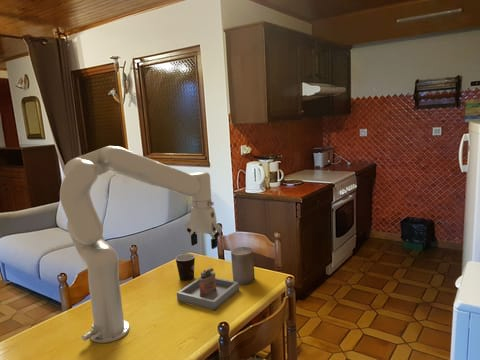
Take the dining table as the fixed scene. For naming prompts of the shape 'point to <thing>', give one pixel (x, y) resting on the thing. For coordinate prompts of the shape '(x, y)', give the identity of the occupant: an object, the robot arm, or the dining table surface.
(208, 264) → the dining table surface
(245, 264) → the pillar candle
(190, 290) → the tray
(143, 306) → the dining table surface
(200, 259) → the dining table surface
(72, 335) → the dining table surface
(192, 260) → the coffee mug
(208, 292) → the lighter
